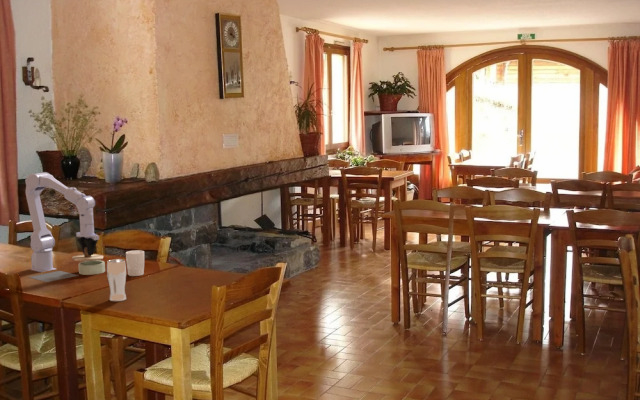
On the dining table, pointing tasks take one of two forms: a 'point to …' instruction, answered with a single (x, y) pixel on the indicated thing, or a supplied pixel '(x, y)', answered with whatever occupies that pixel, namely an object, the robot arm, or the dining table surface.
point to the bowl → (91, 267)
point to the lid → (87, 257)
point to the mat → (53, 276)
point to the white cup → (135, 262)
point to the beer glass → (116, 279)
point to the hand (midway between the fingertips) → (88, 254)
